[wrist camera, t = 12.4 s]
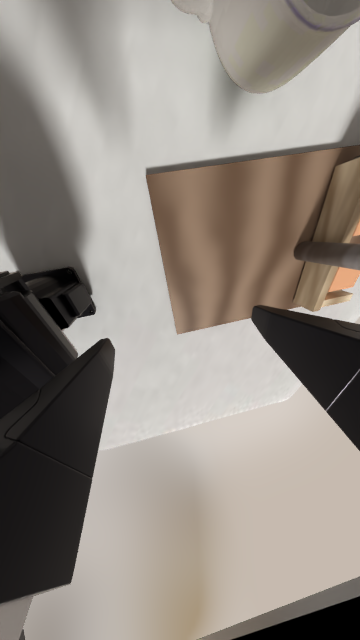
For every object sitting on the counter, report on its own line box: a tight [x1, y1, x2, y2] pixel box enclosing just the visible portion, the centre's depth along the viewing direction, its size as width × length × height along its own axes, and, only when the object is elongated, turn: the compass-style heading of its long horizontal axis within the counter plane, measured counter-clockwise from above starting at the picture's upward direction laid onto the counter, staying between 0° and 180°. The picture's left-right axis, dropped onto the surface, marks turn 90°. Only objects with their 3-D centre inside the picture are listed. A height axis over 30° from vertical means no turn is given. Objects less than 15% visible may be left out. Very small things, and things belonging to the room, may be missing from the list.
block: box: [328, 267, 360, 292], centre depth 21 cm, size 4×4×4 cm
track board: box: [146, 145, 360, 334], centre depth 21 cm, size 31×20×1 cm, turn 98°
